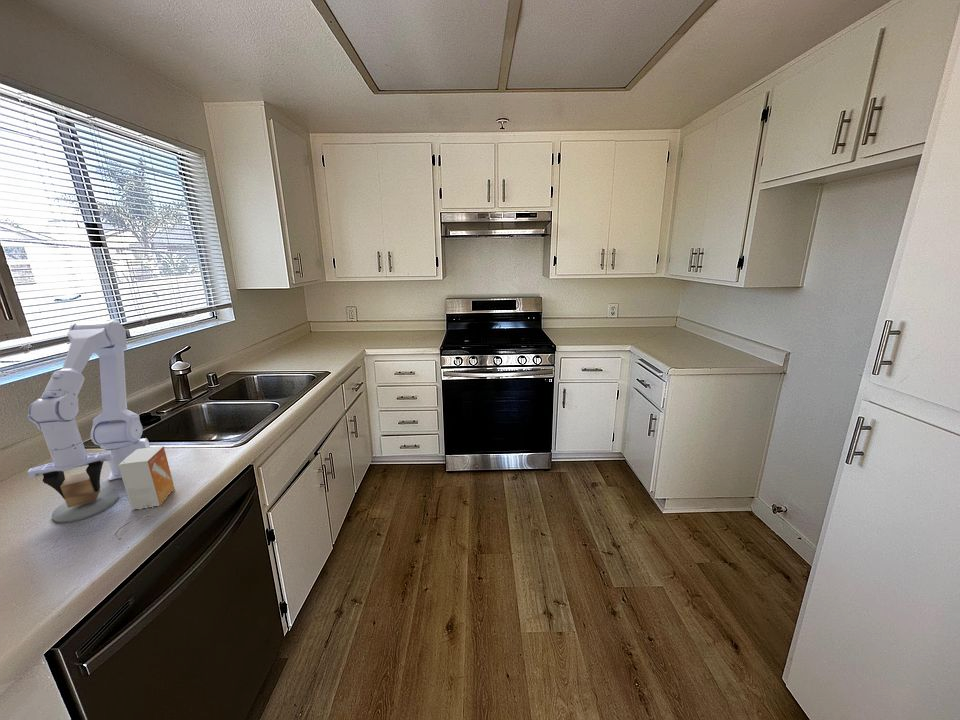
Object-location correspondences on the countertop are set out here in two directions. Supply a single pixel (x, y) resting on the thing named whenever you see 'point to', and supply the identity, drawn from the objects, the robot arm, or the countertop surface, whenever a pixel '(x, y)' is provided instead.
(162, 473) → the small box
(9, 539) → the countertop surface
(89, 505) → the slate dish
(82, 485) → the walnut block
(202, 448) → the countertop surface
